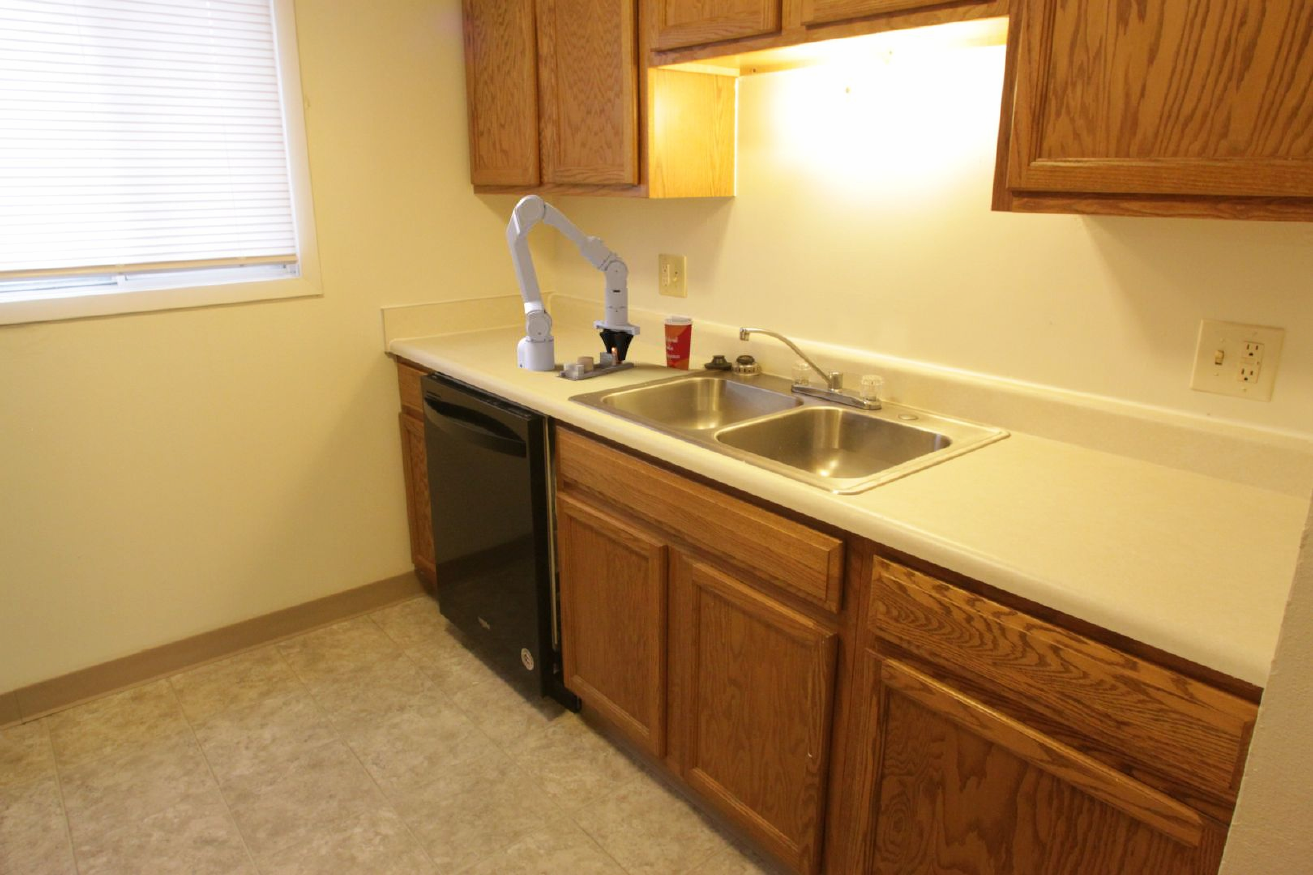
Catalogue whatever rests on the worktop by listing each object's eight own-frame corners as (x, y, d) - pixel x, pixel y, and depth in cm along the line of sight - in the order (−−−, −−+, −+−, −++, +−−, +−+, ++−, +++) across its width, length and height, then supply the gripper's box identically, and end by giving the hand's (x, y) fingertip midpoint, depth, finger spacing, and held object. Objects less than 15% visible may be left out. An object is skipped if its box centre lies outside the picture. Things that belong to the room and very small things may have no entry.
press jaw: (600, 367, 225) (599, 348, 223) (619, 363, 230) (618, 344, 228) (612, 370, 222) (612, 350, 220) (631, 365, 227) (631, 346, 225)
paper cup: (658, 369, 231) (658, 316, 226) (685, 367, 233) (686, 314, 229) (669, 375, 224) (670, 320, 219) (697, 373, 226) (698, 319, 222)
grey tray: (555, 382, 216) (554, 364, 215) (617, 368, 232) (617, 351, 230) (575, 386, 211) (574, 368, 210) (637, 372, 227) (637, 355, 226)
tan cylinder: (574, 374, 218) (573, 358, 217) (586, 371, 221) (585, 355, 220) (585, 376, 215) (585, 360, 214) (597, 373, 218) (596, 358, 217)
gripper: (648, 307, 220) (648, 361, 224) (607, 302, 229) (607, 353, 233) (628, 311, 215) (629, 365, 219) (587, 305, 224) (588, 357, 228)
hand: (617, 359), depth 226 cm, fingers closed on press jaw, 3 cm apart
